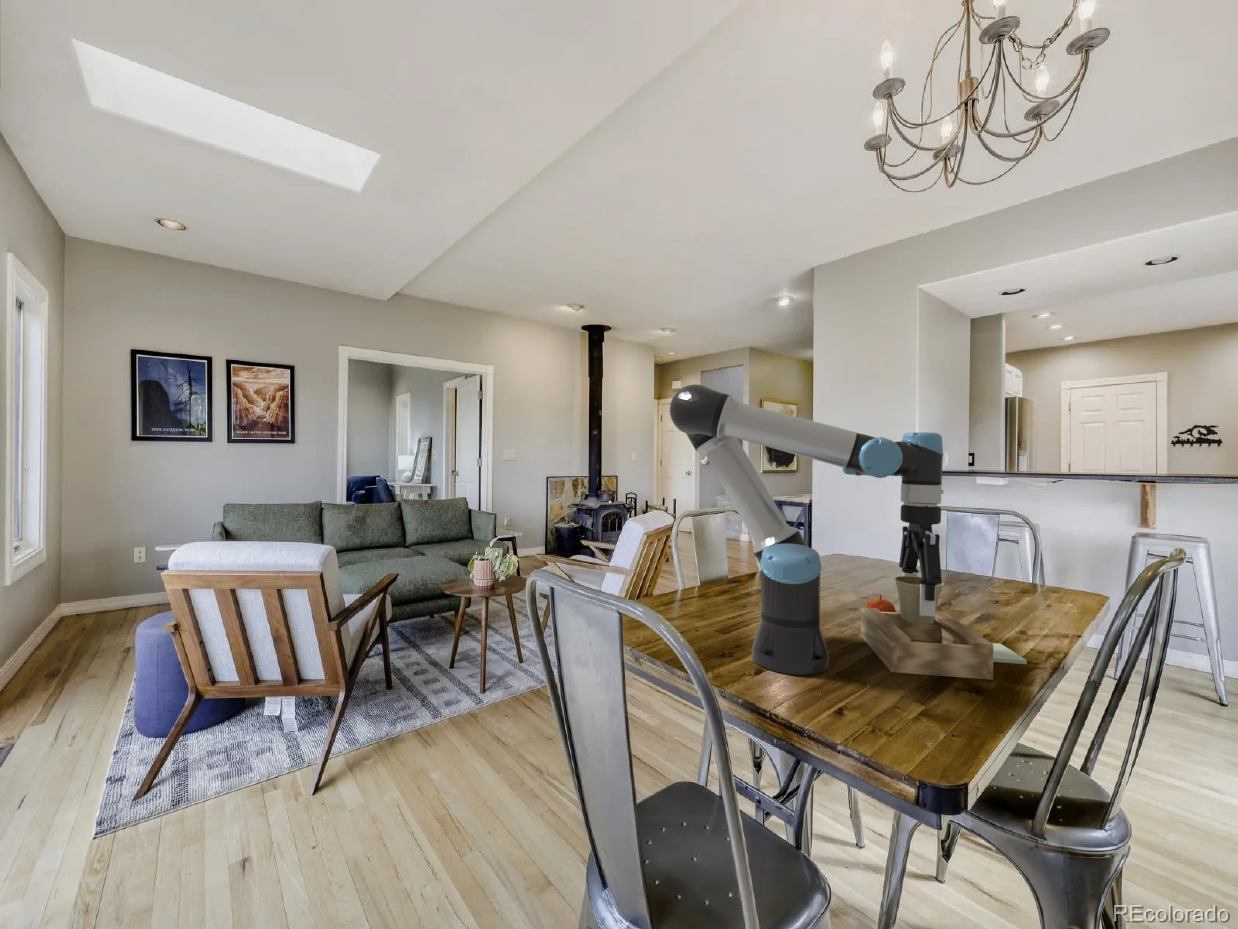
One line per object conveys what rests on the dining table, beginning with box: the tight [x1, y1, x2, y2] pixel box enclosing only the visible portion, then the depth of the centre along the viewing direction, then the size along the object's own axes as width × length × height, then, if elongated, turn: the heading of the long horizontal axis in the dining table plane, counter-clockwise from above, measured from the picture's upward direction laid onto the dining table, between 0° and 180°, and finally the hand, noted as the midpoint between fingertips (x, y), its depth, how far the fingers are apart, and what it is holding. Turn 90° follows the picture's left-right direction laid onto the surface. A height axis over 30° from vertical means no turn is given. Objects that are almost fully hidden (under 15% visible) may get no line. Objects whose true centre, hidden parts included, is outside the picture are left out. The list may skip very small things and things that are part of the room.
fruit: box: [865, 594, 897, 613], centre depth 132 cm, size 7×7×8 cm
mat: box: [991, 642, 1028, 665], centre depth 113 cm, size 10×10×1 cm
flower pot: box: [893, 575, 945, 625], centre depth 112 cm, size 9×9×9 cm
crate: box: [860, 606, 994, 681], centre depth 112 cm, size 18×22×7 cm
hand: (917, 608), depth 112 cm, fingers closed on flower pot, 9 cm apart
